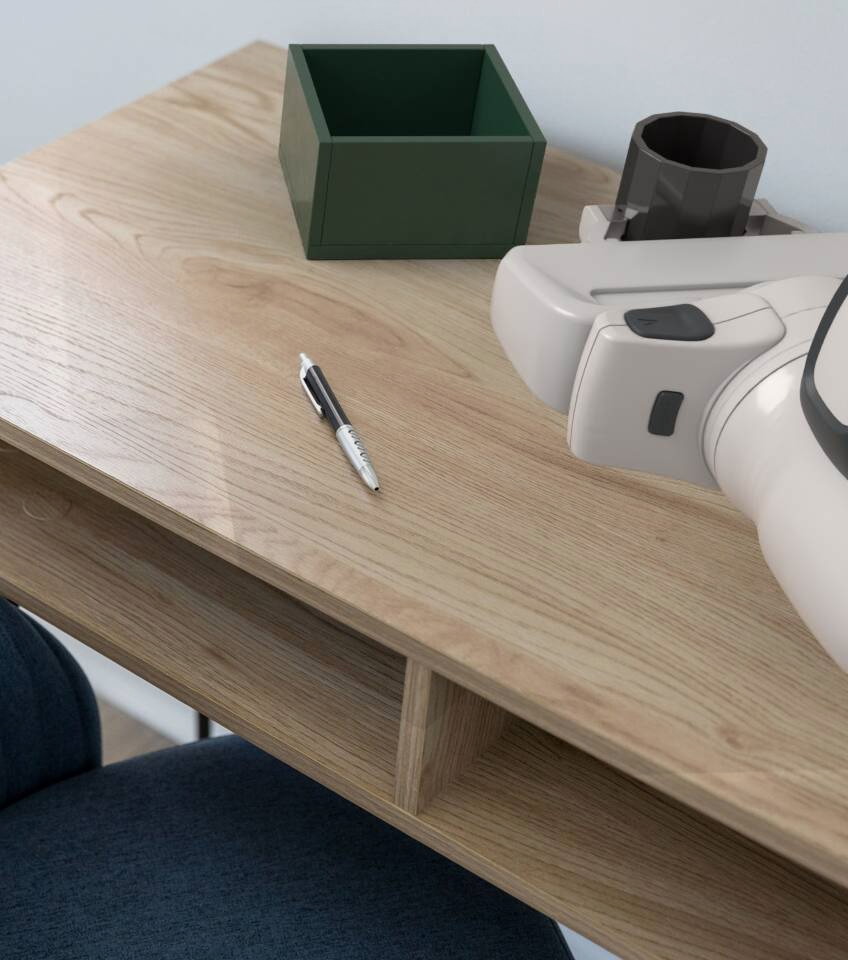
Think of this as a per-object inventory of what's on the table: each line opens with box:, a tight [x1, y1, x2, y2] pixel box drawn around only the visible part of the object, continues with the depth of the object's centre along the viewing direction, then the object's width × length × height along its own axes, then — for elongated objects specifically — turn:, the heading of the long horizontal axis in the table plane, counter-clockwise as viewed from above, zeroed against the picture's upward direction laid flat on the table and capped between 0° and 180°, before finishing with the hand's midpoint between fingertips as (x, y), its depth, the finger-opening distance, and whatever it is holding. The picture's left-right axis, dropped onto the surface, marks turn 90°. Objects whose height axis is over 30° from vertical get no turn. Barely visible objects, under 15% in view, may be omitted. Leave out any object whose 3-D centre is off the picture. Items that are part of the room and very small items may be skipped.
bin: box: [277, 43, 548, 260], centre depth 103 cm, size 14×14×8 cm
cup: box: [614, 110, 769, 241], centre depth 75 cm, size 6×6×10 cm
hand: (668, 214), depth 76 cm, fingers closed on cup, 6 cm apart
